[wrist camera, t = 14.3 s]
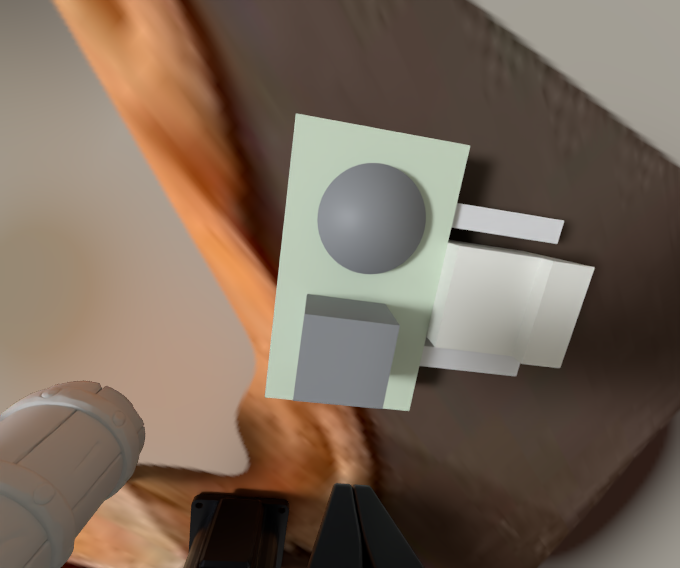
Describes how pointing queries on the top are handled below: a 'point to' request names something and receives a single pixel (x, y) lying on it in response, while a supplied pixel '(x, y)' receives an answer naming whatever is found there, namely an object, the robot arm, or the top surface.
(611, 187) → the top surface
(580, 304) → the white lidded box
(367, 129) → the green block with prongs
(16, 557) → the mug
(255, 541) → the robot arm
